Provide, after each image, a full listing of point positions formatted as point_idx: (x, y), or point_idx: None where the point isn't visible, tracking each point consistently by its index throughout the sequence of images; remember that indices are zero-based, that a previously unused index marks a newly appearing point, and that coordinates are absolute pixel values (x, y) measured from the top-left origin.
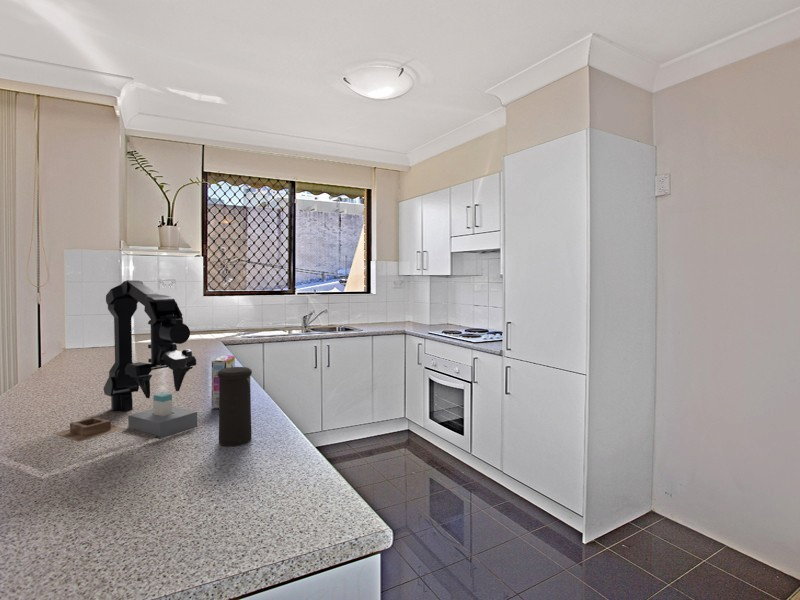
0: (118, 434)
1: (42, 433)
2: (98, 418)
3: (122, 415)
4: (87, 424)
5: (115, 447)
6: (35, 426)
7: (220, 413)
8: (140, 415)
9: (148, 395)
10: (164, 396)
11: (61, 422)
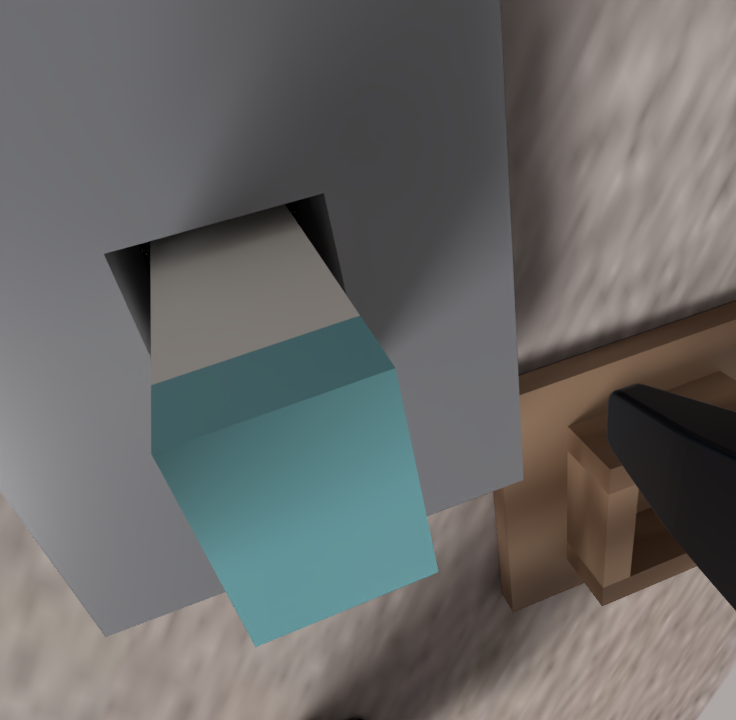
0: (537, 356)
1: (705, 585)
2: (611, 567)
3: (338, 713)
4: (641, 540)
5: (722, 28)
6: (658, 682)
7: None
8: (463, 411)
9: (681, 403)
10: (346, 385)
11: (579, 699)
